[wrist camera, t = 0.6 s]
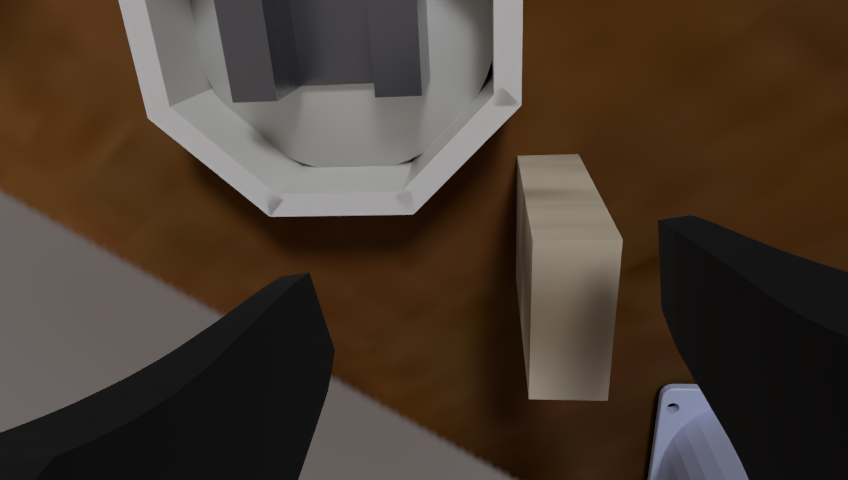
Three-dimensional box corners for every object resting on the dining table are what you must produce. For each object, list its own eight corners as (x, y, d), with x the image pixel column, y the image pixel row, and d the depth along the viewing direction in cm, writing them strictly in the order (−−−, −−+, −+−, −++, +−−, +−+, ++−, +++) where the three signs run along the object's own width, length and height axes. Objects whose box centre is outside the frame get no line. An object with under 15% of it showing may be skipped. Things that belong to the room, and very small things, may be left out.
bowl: (514, 177, 22) (519, 213, 19) (216, 183, 23) (172, 218, 20) (518, -203, 17) (526, -245, 14) (142, -170, 18) (68, -200, 15)
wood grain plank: (571, 276, 23) (607, 400, 17) (515, 276, 24) (528, 399, 17) (578, 154, 21) (622, 240, 14) (517, 155, 22) (532, 240, 15)
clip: (430, 79, 20) (421, 95, 17) (265, 86, 20) (233, 102, 18) (423, -53, 18) (413, -57, 16) (244, -41, 19) (205, -43, 16)
